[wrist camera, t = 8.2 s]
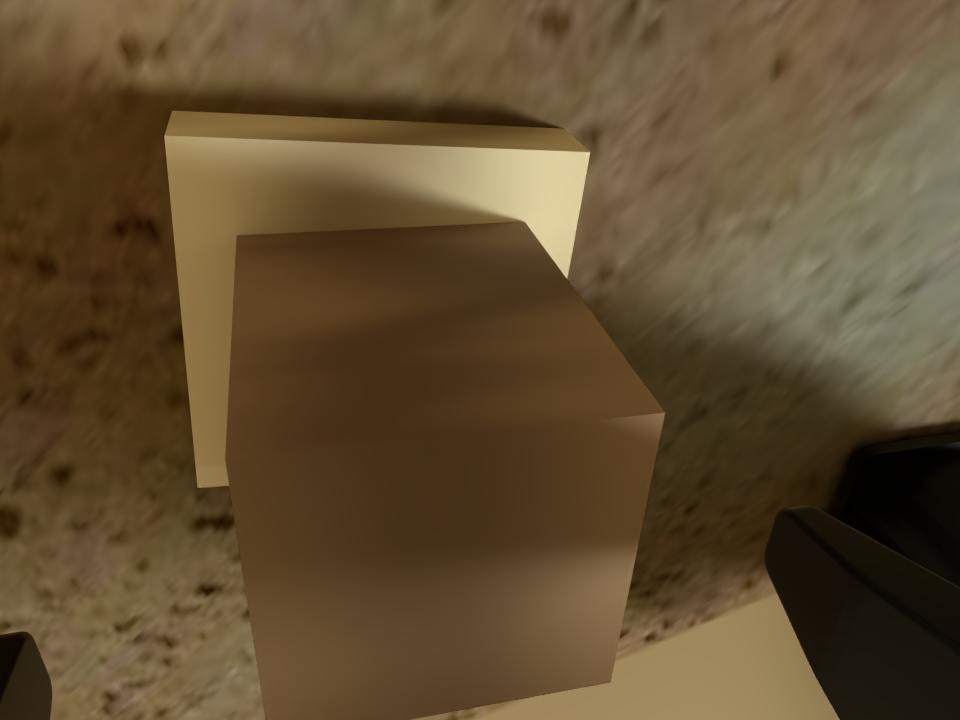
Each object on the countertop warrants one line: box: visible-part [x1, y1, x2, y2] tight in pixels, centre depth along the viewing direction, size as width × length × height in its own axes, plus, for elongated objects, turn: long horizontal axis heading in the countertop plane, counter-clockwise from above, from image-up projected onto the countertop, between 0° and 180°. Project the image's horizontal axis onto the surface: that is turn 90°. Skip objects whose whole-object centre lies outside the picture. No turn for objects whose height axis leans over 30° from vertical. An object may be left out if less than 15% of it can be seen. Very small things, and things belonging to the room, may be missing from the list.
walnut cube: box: [225, 222, 665, 720], centre depth 13 cm, size 5×5×6 cm
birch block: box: [164, 111, 590, 488], centre depth 16 cm, size 7×7×2 cm
